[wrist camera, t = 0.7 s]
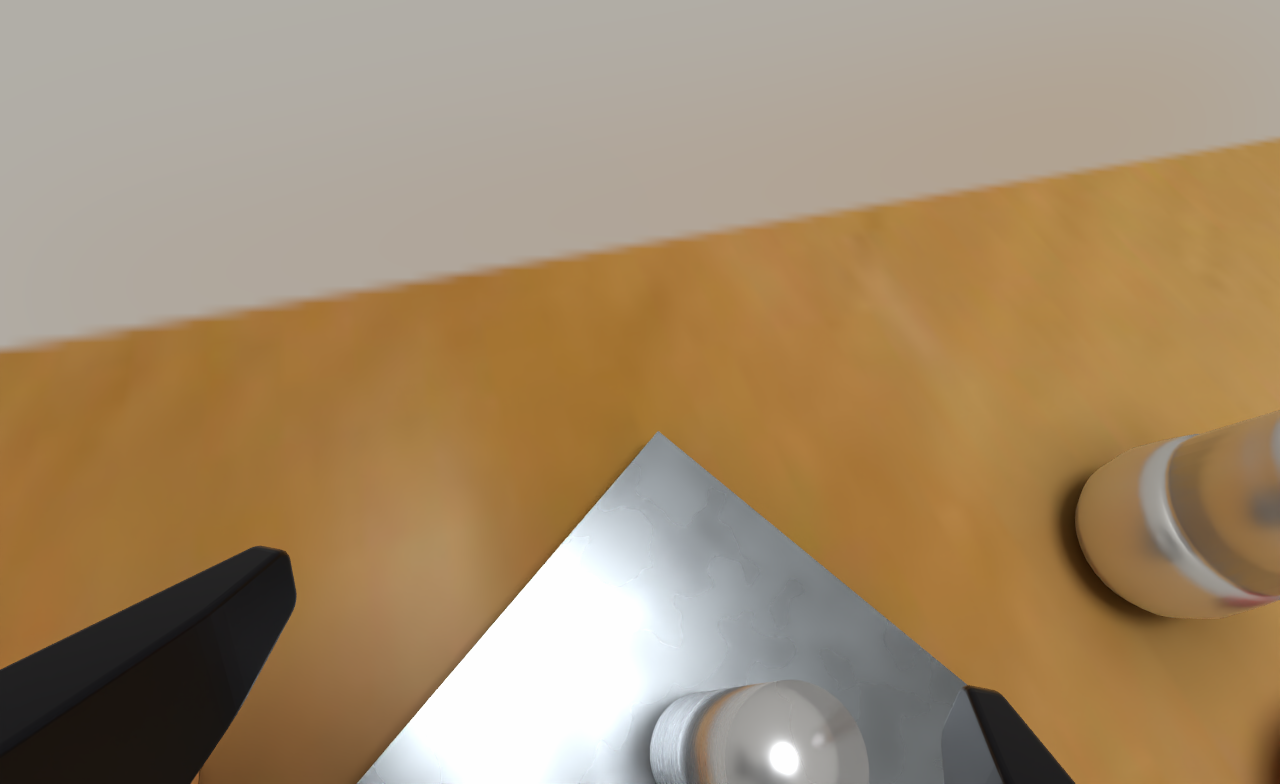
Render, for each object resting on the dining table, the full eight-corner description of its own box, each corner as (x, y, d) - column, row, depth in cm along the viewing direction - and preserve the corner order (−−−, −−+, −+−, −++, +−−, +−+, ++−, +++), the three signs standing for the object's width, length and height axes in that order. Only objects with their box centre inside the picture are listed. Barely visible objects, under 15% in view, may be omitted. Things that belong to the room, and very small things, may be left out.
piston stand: (747, 1185, 18) (932, 1475, 11) (341, 805, 20) (277, 849, 13) (965, 708, 25) (1169, 700, 18) (647, 446, 26) (719, 340, 19)
